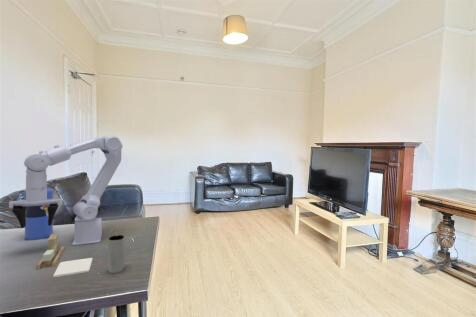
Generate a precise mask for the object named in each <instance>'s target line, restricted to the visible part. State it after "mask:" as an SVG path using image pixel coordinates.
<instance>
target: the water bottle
mask: <svg viewBox="0 0 476 317" xmlns="http://www.w3.org/2000/svg"><path fill="white" fill-rule="evenodd" d="M53 197H54V189H52V188H49V187H47V199H54V198H53ZM23 200H26V190H25V191H23ZM48 206H50V205H41V206H26V214H25V218H26V226H25V227H24V240H26V241H36V240H37V241H39V240H42V239H47V238H49V237H50V235H51V234H54V226H53V225H54V221H53V222H52V225H50V226H48V208H47V207H48Z"/></svg>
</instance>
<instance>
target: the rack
mask: <svg viewBox="0 0 476 317" xmlns="http://www.w3.org/2000/svg"><path fill="white" fill-rule="evenodd" d="M65 247H66V246H64V245H63V246H61V248H60V249H59V250H58V254H57V255H56V257H55V259H54V260H53V262H52V265H51V268H55V267H56V265H57V264H58V262H59V260H60V258H61V256H63V253H64V251H65ZM42 267H43V256H42V258H41V259H40V260H39V262H38V263H37V264H36V270H40V269H41V268H42Z"/></svg>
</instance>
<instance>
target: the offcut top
mask: <svg viewBox="0 0 476 317" xmlns="http://www.w3.org/2000/svg"><path fill="white" fill-rule="evenodd" d="M54 255H55V249H53V250H48V249H46V251H45V252H44V253H43V254H42V257H43V261H51V259H52V258H53V257H54Z"/></svg>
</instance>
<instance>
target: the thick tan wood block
mask: <svg viewBox="0 0 476 317" xmlns="http://www.w3.org/2000/svg"><path fill="white" fill-rule="evenodd" d="M53 249H55V255H54V259H55V257H56V255H57V254H58V252H59V233H58V232H57V233H53V234H51V235H50V237H48V239H47V250H53Z"/></svg>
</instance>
